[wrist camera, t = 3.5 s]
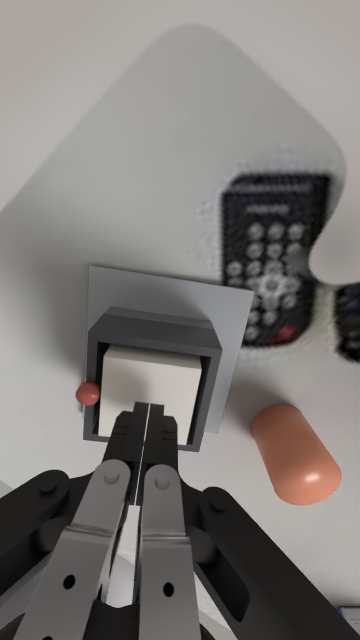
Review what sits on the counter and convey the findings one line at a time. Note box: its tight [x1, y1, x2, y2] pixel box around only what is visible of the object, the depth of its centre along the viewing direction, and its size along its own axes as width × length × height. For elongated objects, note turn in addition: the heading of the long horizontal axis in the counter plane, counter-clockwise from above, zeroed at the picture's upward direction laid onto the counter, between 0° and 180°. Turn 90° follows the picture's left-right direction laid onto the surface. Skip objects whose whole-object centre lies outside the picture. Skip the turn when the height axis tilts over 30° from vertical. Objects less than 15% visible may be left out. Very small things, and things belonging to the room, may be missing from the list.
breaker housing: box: [76, 265, 255, 452], centre depth 16 cm, size 11×12×6 cm
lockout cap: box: [252, 404, 341, 505], centre depth 19 cm, size 4×4×5 cm
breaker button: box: [98, 343, 202, 445], centre depth 15 cm, size 5×5×3 cm
